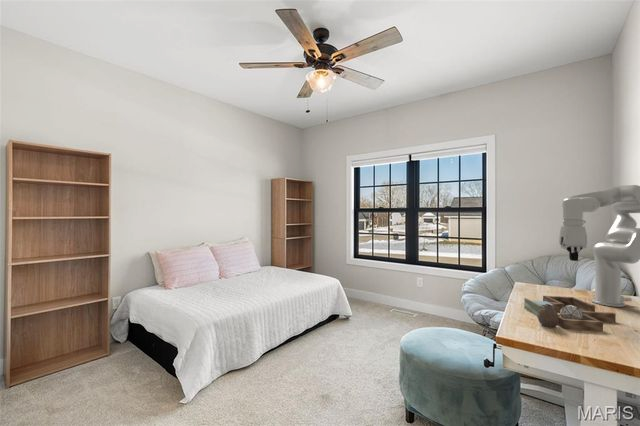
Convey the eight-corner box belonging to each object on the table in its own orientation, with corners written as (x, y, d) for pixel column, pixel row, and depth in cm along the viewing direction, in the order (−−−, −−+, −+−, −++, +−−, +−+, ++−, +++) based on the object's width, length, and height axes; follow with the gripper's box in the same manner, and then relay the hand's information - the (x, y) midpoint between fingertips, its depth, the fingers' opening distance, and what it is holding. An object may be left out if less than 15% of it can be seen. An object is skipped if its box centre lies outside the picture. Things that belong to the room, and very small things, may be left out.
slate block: (545, 311, 140) (545, 301, 140) (553, 316, 134) (554, 305, 134) (531, 311, 141) (532, 300, 141) (539, 315, 135) (539, 304, 135)
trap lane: (574, 303, 152) (574, 294, 152) (642, 333, 115) (642, 320, 115) (511, 300, 157) (511, 291, 157) (558, 328, 119) (558, 315, 119)
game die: (577, 333, 123) (594, 319, 117) (555, 324, 125) (571, 310, 119) (570, 317, 130) (586, 303, 125) (550, 309, 132) (565, 294, 126)
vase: (554, 324, 124) (554, 303, 124) (562, 330, 117) (562, 308, 117) (535, 322, 126) (535, 301, 126) (541, 328, 119) (541, 306, 119)
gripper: (583, 222, 148) (584, 258, 148) (551, 223, 150) (552, 259, 150) (596, 223, 141) (596, 261, 141) (561, 224, 142) (562, 262, 143)
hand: (573, 260), depth 146 cm, fingers closed
